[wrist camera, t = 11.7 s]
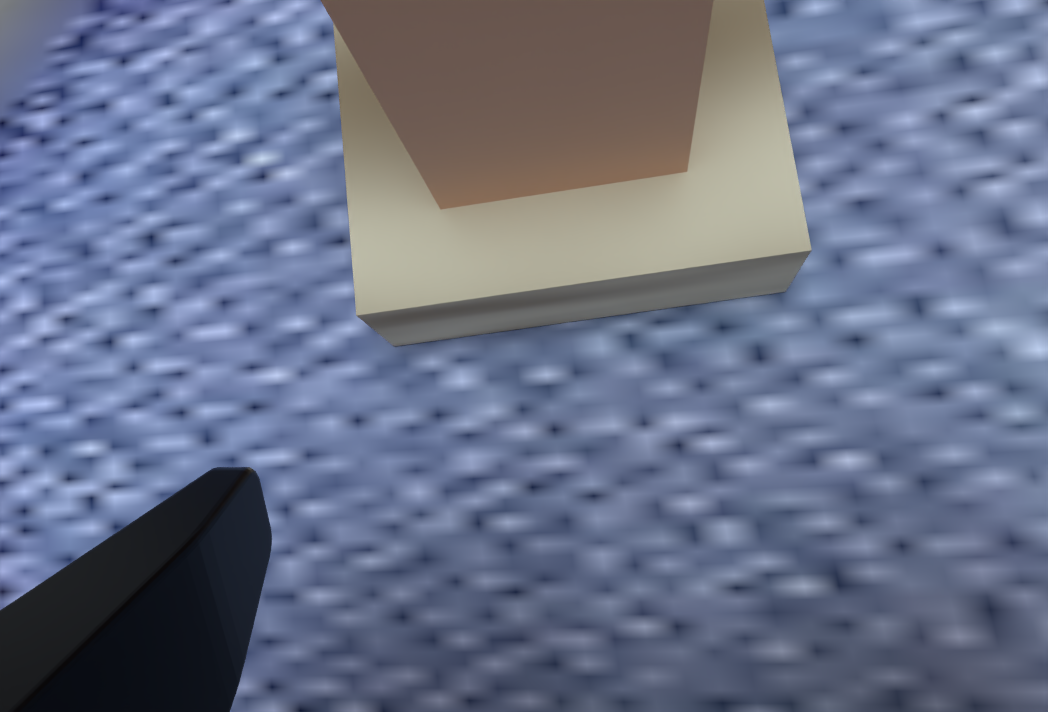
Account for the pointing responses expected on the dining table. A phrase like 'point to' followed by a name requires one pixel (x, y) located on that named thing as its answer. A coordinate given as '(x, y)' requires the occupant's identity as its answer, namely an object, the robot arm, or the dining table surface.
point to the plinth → (582, 215)
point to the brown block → (532, 88)
